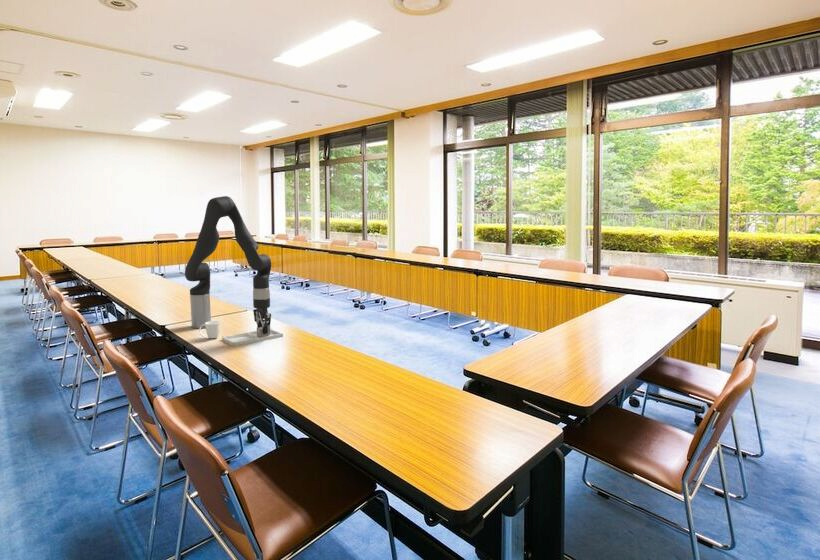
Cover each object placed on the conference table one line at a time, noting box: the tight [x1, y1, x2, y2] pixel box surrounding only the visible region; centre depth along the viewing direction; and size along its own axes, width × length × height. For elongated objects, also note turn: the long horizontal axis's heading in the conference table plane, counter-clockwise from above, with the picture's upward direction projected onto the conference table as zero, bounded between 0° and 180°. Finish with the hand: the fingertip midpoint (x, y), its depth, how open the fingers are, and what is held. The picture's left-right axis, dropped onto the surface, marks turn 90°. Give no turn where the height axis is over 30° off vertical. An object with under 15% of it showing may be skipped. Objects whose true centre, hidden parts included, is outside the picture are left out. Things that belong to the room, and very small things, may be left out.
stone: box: [256, 327, 269, 338], centre depth 219 cm, size 4×4×5 cm
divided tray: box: [221, 328, 284, 347], centre depth 219 cm, size 13×24×2 cm, turn 133°
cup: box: [198, 320, 221, 339], centre depth 217 cm, size 7×10×8 cm
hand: (262, 332), depth 219 cm, fingers open, 5 cm apart
